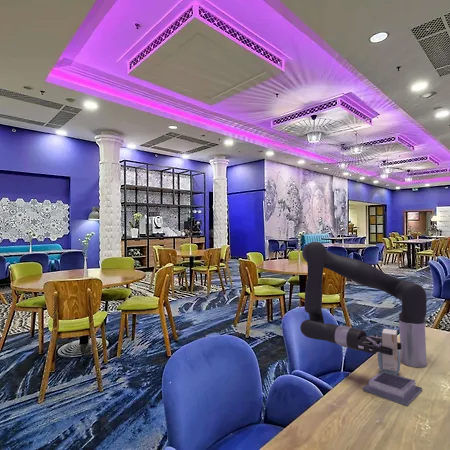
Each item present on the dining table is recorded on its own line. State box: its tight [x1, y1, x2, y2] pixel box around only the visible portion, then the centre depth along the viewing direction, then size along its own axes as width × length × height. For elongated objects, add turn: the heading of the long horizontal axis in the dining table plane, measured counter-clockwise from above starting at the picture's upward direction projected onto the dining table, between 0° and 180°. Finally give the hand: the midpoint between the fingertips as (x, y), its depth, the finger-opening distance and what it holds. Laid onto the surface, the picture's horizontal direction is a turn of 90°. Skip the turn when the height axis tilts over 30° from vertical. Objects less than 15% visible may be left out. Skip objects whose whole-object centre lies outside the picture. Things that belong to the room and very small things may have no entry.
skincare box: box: [381, 328, 398, 371], centre depth 110 cm, size 6×4×12 cm
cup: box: [376, 349, 401, 375], centre depth 123 cm, size 8×8×10 cm
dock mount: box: [362, 371, 423, 407], centre depth 110 cm, size 14×14×4 cm
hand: (396, 349), depth 108 cm, fingers closed on skincare box, 7 cm apart
